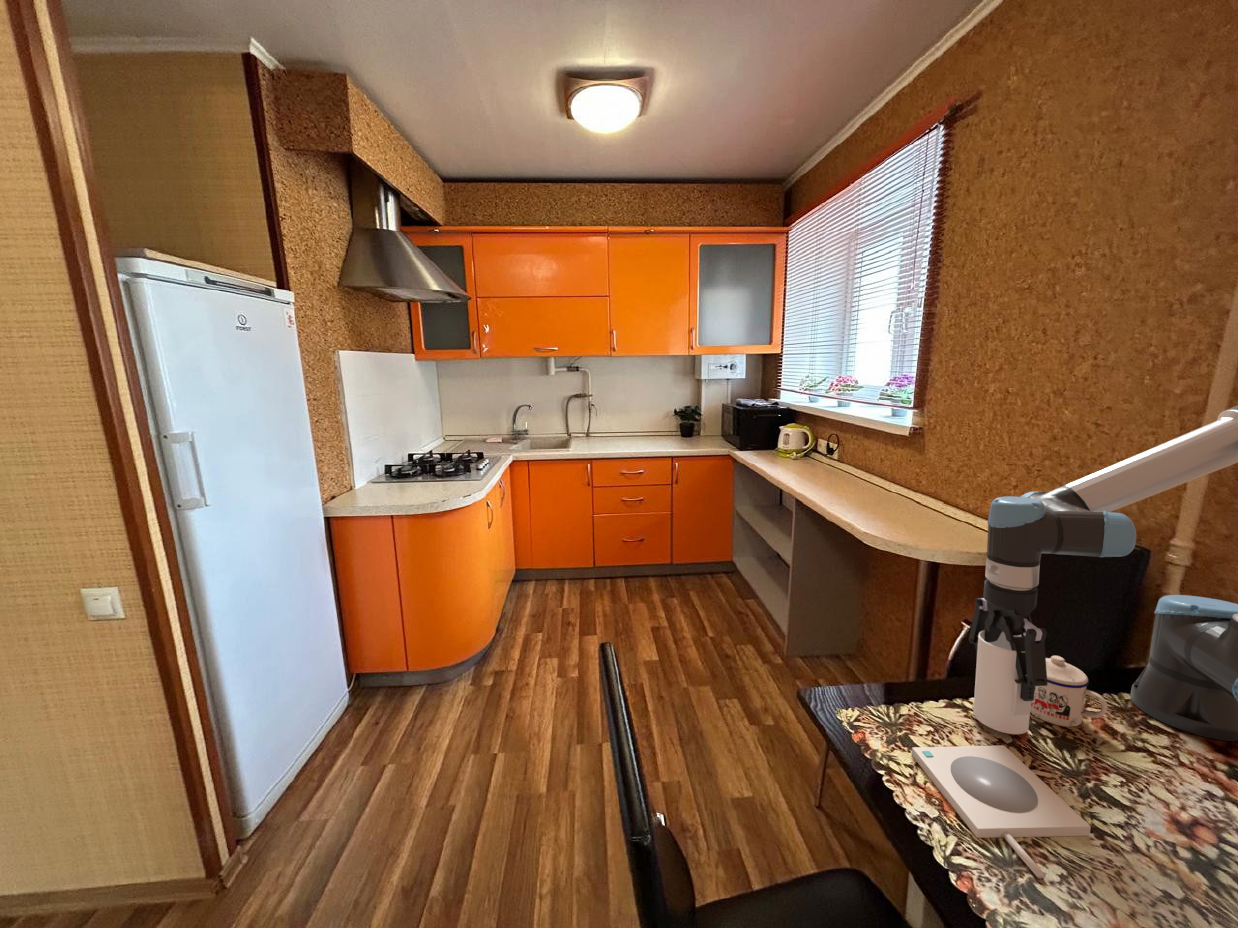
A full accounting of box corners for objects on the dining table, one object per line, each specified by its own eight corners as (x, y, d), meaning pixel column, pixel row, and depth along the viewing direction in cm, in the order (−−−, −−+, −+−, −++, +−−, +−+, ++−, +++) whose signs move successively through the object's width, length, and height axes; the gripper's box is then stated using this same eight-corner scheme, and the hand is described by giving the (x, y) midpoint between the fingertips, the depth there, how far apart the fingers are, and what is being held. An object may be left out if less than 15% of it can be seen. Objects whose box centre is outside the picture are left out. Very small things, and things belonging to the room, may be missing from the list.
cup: (1039, 736, 87) (1046, 653, 85) (987, 731, 89) (992, 650, 87) (1012, 707, 95) (1018, 630, 93) (965, 703, 97) (969, 628, 95)
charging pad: (1003, 752, 86) (1004, 744, 86) (1132, 876, 64) (1134, 865, 64) (911, 754, 86) (912, 746, 86) (1009, 879, 64) (1010, 868, 64)
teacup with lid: (1013, 708, 97) (1019, 654, 95) (1032, 692, 102) (1037, 640, 100) (1095, 744, 87) (1103, 684, 85) (1111, 725, 92) (1119, 667, 90)
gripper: (950, 563, 99) (944, 667, 102) (1038, 609, 78) (1027, 738, 81) (988, 561, 99) (981, 666, 102) (1086, 607, 78) (1073, 736, 81)
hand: (1001, 698), depth 92 cm, fingers closed on cup, 8 cm apart
